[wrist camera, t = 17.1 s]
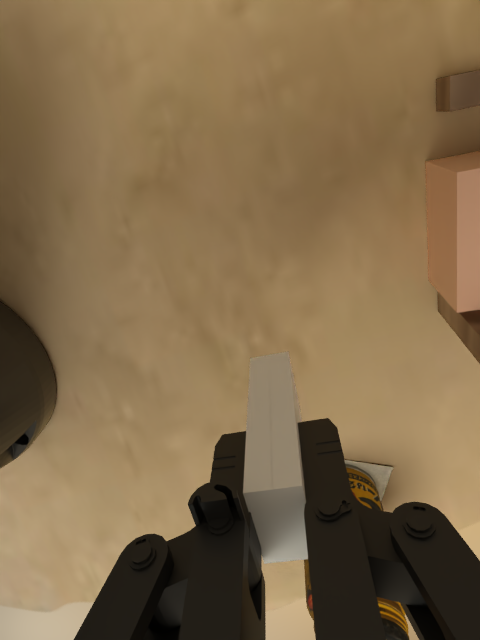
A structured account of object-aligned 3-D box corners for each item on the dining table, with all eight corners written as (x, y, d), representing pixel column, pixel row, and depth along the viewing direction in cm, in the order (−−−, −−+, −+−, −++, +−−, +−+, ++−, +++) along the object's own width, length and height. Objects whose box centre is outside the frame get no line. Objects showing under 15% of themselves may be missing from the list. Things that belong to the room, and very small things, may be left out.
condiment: (392, 465, 33) (447, 636, 22) (367, 540, 37) (404, 718, 26) (296, 452, 33) (305, 615, 23) (281, 528, 37) (282, 700, 26)
